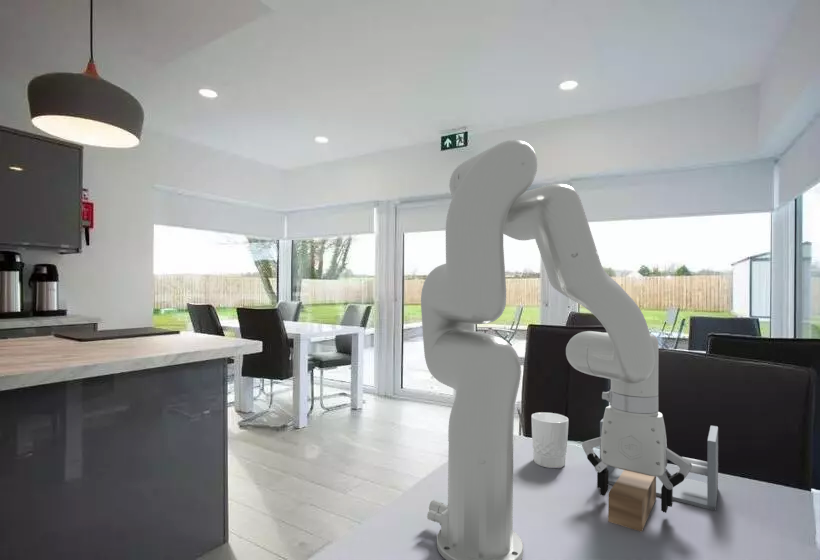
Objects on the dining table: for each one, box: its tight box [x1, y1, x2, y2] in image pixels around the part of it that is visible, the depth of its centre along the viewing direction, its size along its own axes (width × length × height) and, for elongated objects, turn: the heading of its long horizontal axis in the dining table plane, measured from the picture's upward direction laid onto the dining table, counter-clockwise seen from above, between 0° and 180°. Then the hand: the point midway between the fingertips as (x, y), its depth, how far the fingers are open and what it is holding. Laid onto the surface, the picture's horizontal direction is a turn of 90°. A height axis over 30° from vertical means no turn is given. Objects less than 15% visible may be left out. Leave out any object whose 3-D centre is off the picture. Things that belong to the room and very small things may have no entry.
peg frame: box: [599, 418, 719, 511], centre depth 88 cm, size 19×11×12 cm, turn 54°
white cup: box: [531, 411, 569, 469], centre depth 99 cm, size 8×8×10 cm
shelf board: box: [607, 470, 657, 532], centre depth 78 cm, size 14×5×5 cm, turn 143°
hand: (633, 500), depth 78 cm, fingers open, 9 cm apart
